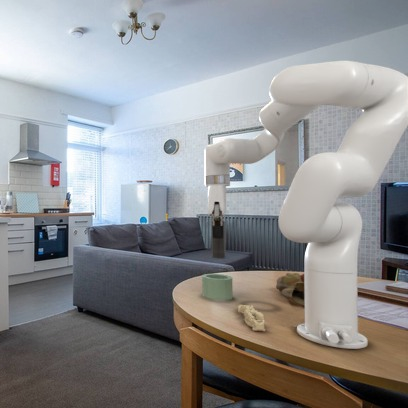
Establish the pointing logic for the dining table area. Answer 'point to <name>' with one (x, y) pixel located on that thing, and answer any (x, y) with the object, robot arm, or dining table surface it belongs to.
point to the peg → (219, 245)
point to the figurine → (292, 287)
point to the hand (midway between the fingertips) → (218, 237)
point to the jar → (217, 286)
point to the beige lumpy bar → (252, 317)
